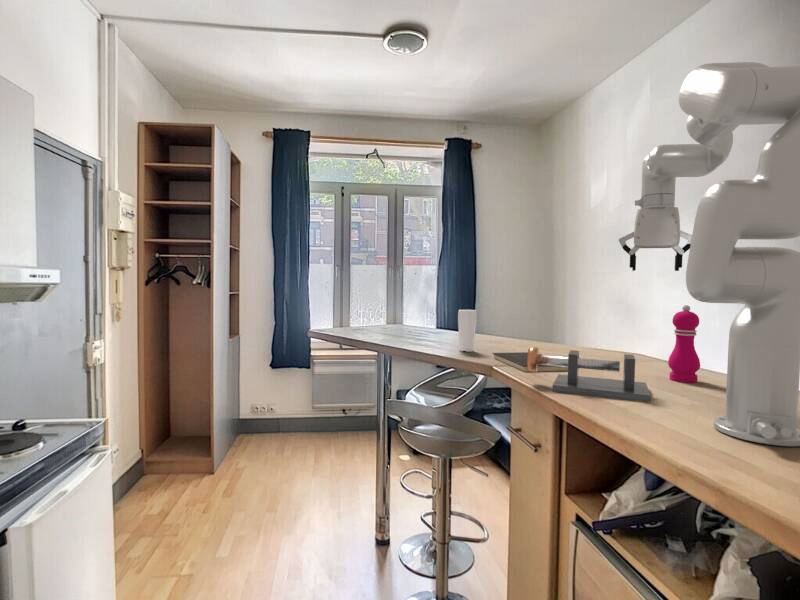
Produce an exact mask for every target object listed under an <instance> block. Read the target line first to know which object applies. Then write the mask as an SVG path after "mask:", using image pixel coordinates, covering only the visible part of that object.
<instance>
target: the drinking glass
mask: <svg viewBox="0 0 800 600" xmlns="http://www.w3.org/2000/svg"><path fill="white" fill-rule="evenodd" d="M477 311H478V310H477V309H458V312H457V328H458V329H457V330H458V343H459V344H458V345H459V347H458V349H459V351H460V352H463V351H466V353H471V352H474V351H475V340H476V331H477V321H478V313H477Z"/></svg>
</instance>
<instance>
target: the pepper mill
mask: <svg viewBox="0 0 800 600" xmlns="http://www.w3.org/2000/svg"><path fill="white" fill-rule="evenodd" d="M690 310H691V307H690V306H689V304H688V305H687V304H685V305H683V306H682V311H678V312H675V314H674V315H673V316H672V324H673V326H674V327H675V329H674V332H673V334H674V335H675V344H674V348H673V350H672V352H670V353H671V354H670V355H669V357H668V361H667V365H668V367H669V368H670V369H671V371H670V372H669V379H670V380H671V381H674V382H679V383H685V384H686V383H687V384H688V383H689V384H694V383H698V378H699V377H698V374H697V372H698V371H699V370H700V368H701V361H700V357H699V355H698V353H697V351H696V349H695V337H696V336H697V331H698V330H696V328H697V327H699V325H700V317H699V315H698V314H697V313H695V312H693V311H690Z"/></svg>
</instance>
